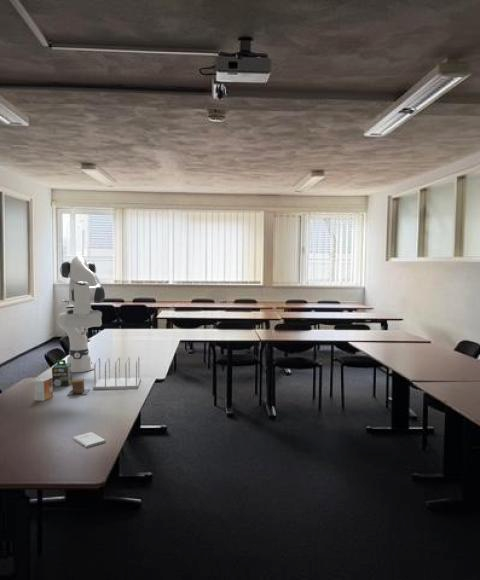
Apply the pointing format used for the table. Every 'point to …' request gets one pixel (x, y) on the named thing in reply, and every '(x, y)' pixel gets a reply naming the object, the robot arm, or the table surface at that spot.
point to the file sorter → (116, 382)
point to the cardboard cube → (78, 385)
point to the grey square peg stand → (78, 393)
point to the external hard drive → (89, 439)
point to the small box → (43, 389)
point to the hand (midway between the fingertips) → (83, 334)
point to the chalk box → (61, 374)
